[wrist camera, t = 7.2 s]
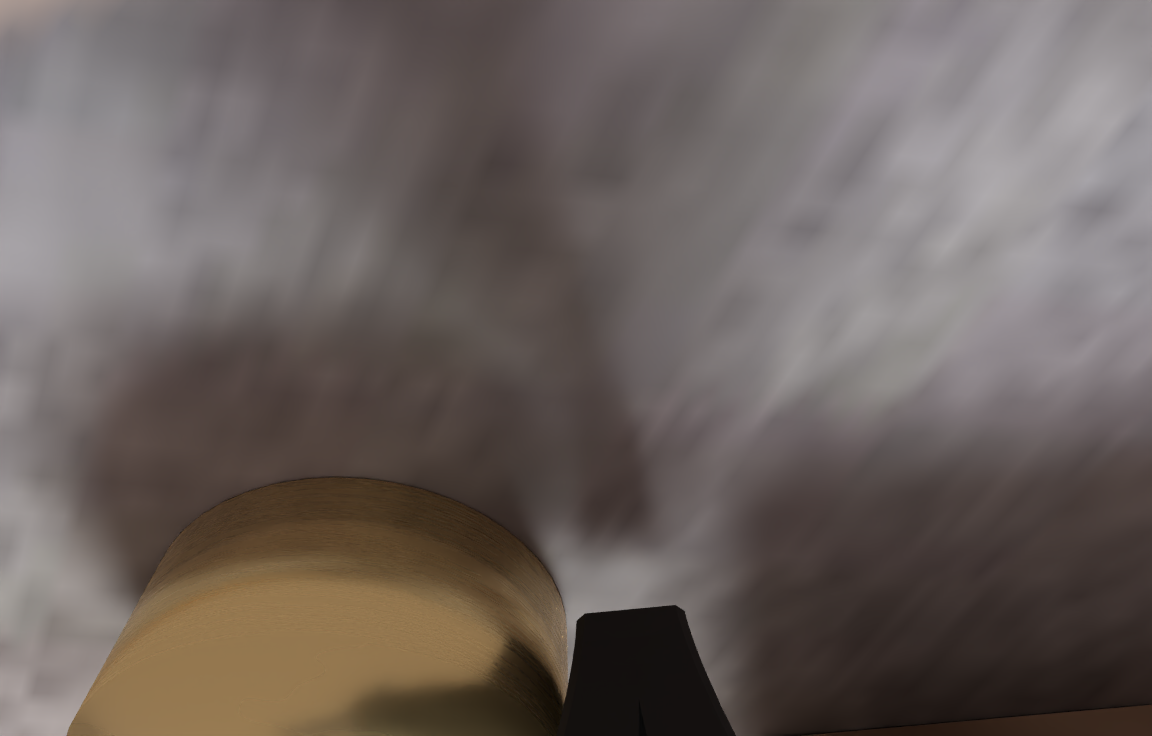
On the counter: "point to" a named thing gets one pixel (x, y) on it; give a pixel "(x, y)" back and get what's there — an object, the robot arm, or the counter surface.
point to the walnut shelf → (1033, 725)
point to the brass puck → (338, 623)
